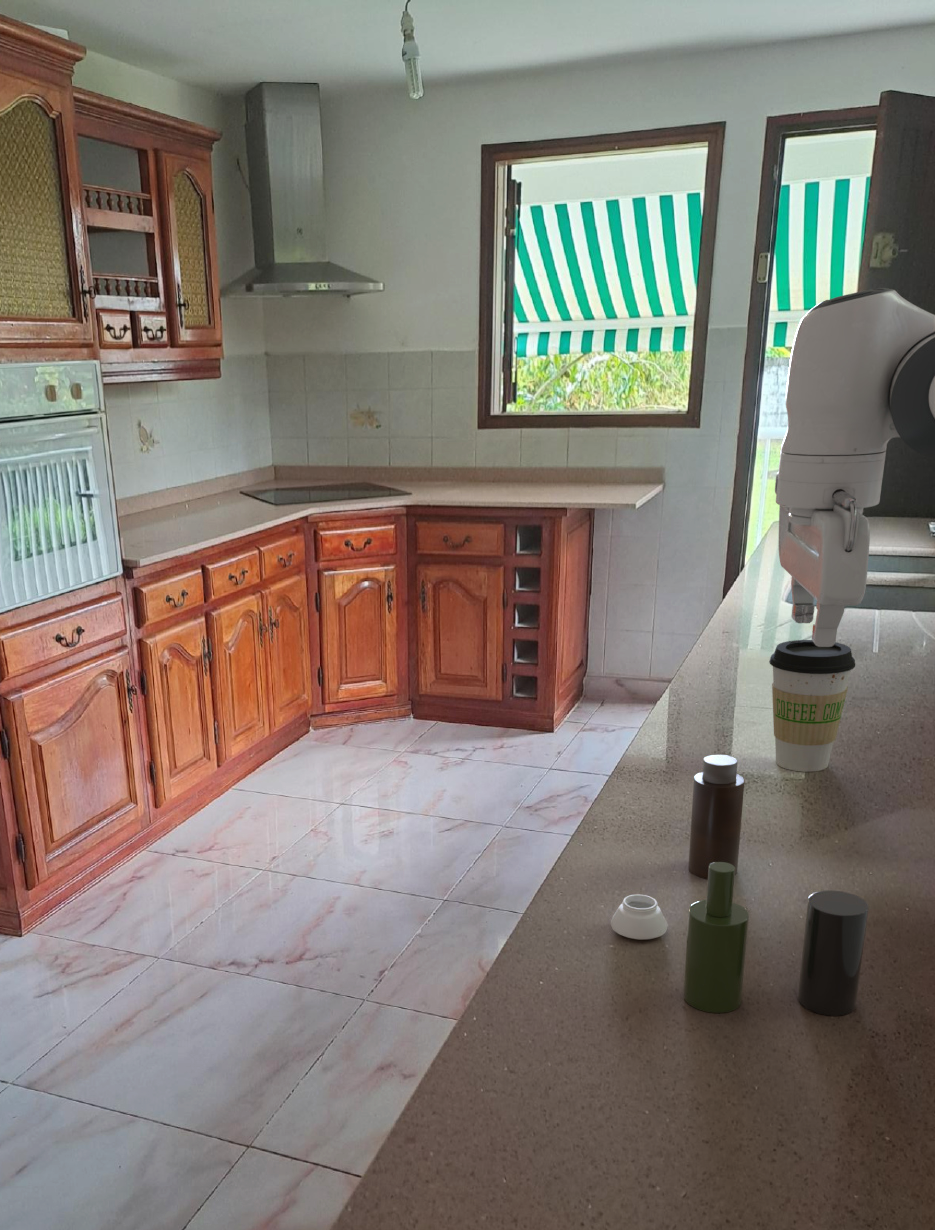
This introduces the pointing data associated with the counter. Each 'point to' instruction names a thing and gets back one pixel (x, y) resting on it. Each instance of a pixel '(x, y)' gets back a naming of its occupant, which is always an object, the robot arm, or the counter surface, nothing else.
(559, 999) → the counter surface
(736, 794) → the pepper mill
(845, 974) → the dark grey cylinder
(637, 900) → the white jar
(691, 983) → the oil cruet
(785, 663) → the coffee cup
